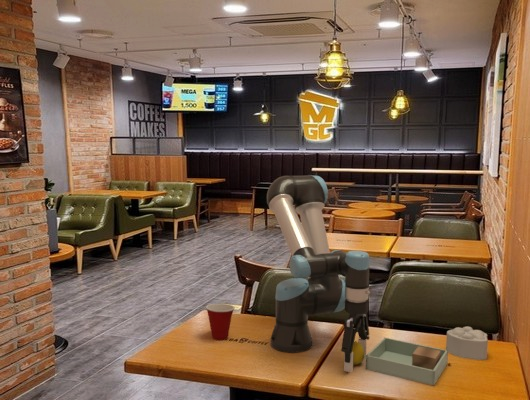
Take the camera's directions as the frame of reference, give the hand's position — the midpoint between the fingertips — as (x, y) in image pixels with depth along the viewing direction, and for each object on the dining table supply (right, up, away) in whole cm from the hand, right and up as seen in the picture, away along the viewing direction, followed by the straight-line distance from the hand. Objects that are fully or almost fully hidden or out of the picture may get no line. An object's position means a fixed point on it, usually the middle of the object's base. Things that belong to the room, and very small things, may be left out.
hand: (355, 364), depth 162 cm
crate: (+16, 0, -2) cm, 16 cm away
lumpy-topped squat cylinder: (+40, 0, +9) cm, 41 cm away
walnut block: (+22, 0, -5) cm, 22 cm away
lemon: (0, 0, 0) cm, 0 cm away
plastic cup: (-46, +2, +24) cm, 52 cm away
